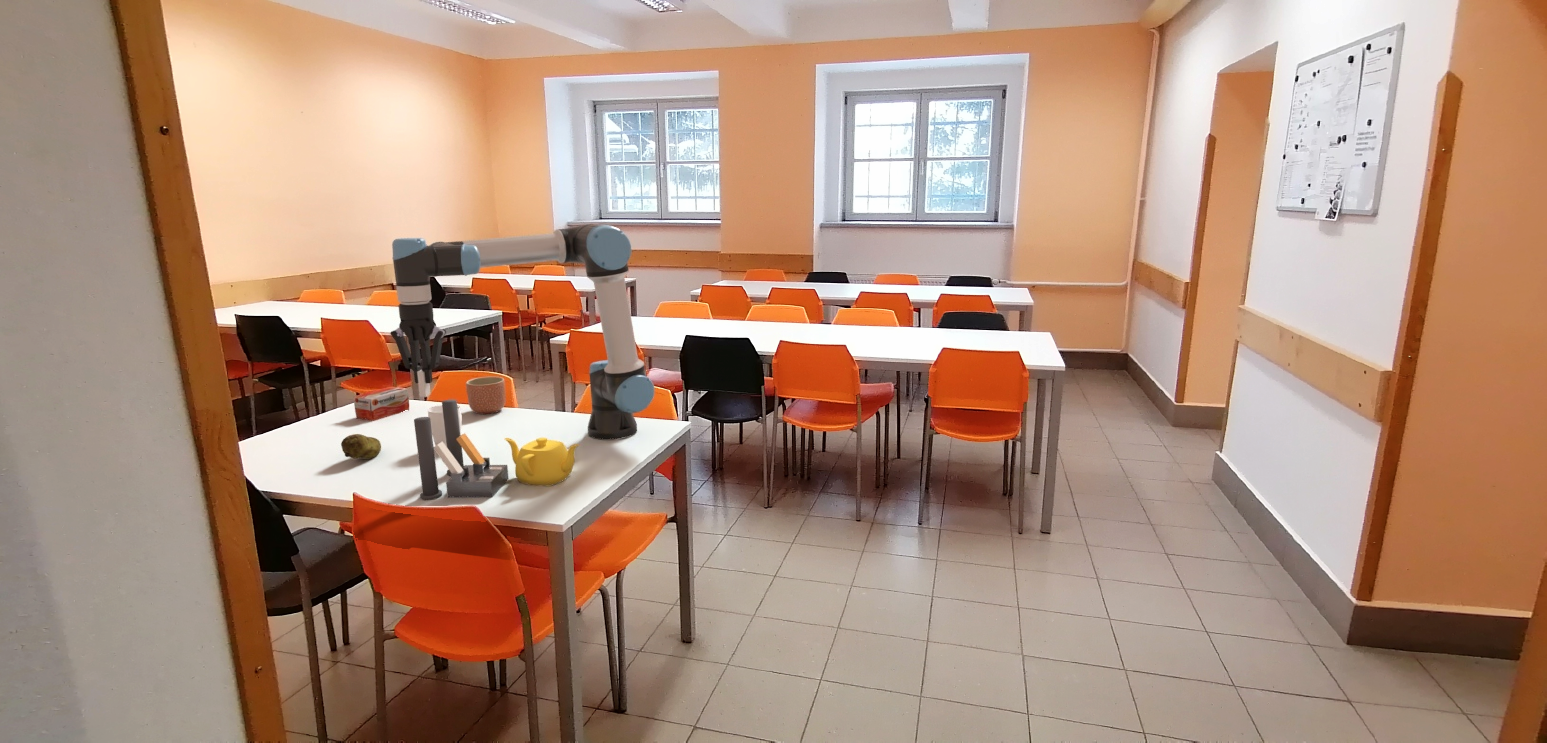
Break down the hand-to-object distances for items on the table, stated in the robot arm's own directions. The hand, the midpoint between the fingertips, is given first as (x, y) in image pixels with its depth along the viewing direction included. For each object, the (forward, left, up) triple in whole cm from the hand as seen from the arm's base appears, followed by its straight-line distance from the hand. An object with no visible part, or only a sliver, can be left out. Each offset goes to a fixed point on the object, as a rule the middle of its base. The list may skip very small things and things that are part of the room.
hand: (425, 395), depth 189 cm
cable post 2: (-2, -8, -24) cm, 25 cm away
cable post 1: (-2, +8, -24) cm, 25 cm away
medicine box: (+46, -65, -24) cm, 83 cm away
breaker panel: (-12, +3, -24) cm, 27 cm away
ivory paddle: (-9, +6, -19) cm, 22 cm away
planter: (+11, -67, -24) cm, 72 cm away
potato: (+29, -20, -24) cm, 43 cm away
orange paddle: (-12, 0, -19) cm, 22 cm away
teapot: (-27, -3, -24) cm, 36 cm away
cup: (+9, -29, -24) cm, 39 cm away
